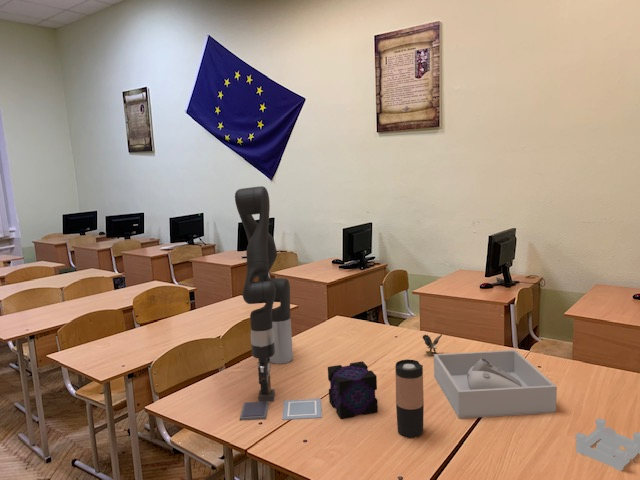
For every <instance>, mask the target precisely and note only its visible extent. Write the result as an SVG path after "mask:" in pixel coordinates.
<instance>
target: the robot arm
mask: <svg viewBox="0 0 640 480" xmlns="http://www.w3.org/2000/svg"><path fill="white" fill-rule="evenodd" d="M234 200H235V206H236V209H237V212H238V214H239V218H240V220H241V223H242V225H243V228H244V231H245V235H246V238H247V242H248V244H247V246H246V276H245V280H244V281H245V282H244V286H243V289H242V298H243V300H244V302H245V303H246V304H248V305H256V304H264V305H263V307H260V308H258V309H257V308H256V309H254V310H252V311H251V312H250V314H249V321H250V343H251V344H250V345H251V356H252V357H253V358H254V359H257V360H258V362H257V371H258V372H257V375H258V384H259V385H260V390H261V394H262V395H263V394H268V376H269V375H270V376H271V374H270V373H271V367H272V365H271V363H272V364H276V365H280V364H281V365H284V364H288V363H291V362H292V361H293V359H294V355H293V351H294V350H293V336H292V335H293V334H292V320H291V286H290V282H289V280H288V279H287V278H284V277H283V278H282V277H281V278H271V277H270V276H269V273H270V270H271V268H272V267H273V265H274V263H275V262H276V259H277V256H278V251H277V247H276V242H275V239H274V237H273V236H272V234H270V233H269V229H270V228H269V226H270V209H271V208H270V207H271V206H270V202H271V201H270V196H269V192H268V189H267V188H266V187H265V186H251V187H245V188H244V187H243V188H239V189H237V190H236V191H235V193H234ZM253 215H258V216H259V219H258V221H256V220H255V218H254V216H253ZM256 278H258V281H254V280H255V279H256ZM274 303H279V304H280V305H279V306H277V307H275V308H274ZM262 377H264V378H265V380H262Z"/></svg>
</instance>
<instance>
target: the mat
mask: <svg viewBox="0 0 640 480" xmlns="http://www.w3.org/2000/svg"><path fill="white" fill-rule="evenodd" d="M282 408H283V409H282V418H281V419H282V420H283V421H285V420H286V421H290V420H309V419H311V420H312V419H313V420H314V419H322V418H323V417H322V414H323V413H322V399H321V398H307V399H306V398H304V399H302V398H301V399H288V400H283V407H282Z"/></svg>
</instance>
